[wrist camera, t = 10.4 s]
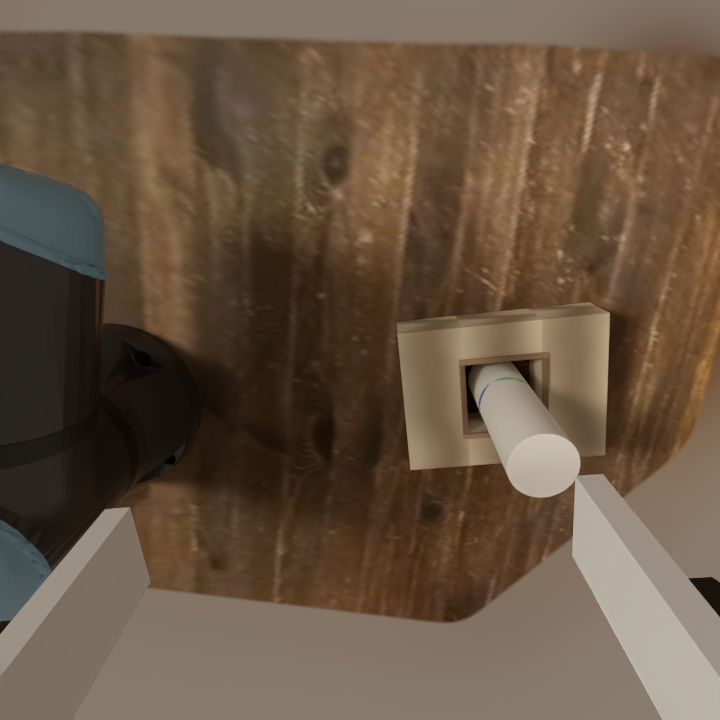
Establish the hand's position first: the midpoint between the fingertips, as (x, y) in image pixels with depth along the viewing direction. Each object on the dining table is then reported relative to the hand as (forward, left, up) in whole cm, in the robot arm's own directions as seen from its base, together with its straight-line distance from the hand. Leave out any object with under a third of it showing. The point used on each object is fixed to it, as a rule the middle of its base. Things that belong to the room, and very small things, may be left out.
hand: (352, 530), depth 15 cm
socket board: (+10, -7, -30) cm, 32 cm away
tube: (+10, -7, -30) cm, 32 cm away
